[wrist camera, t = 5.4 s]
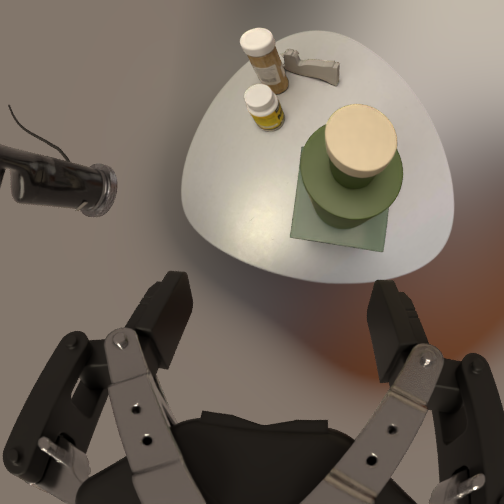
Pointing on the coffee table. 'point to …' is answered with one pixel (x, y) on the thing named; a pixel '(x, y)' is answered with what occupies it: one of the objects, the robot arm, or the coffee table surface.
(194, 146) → the coffee table surface
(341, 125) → the olive bottle
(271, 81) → the sprinkles bottle
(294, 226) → the pedestal
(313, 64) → the grey tape dispenser
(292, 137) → the coffee table surface
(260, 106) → the supplement bottle
